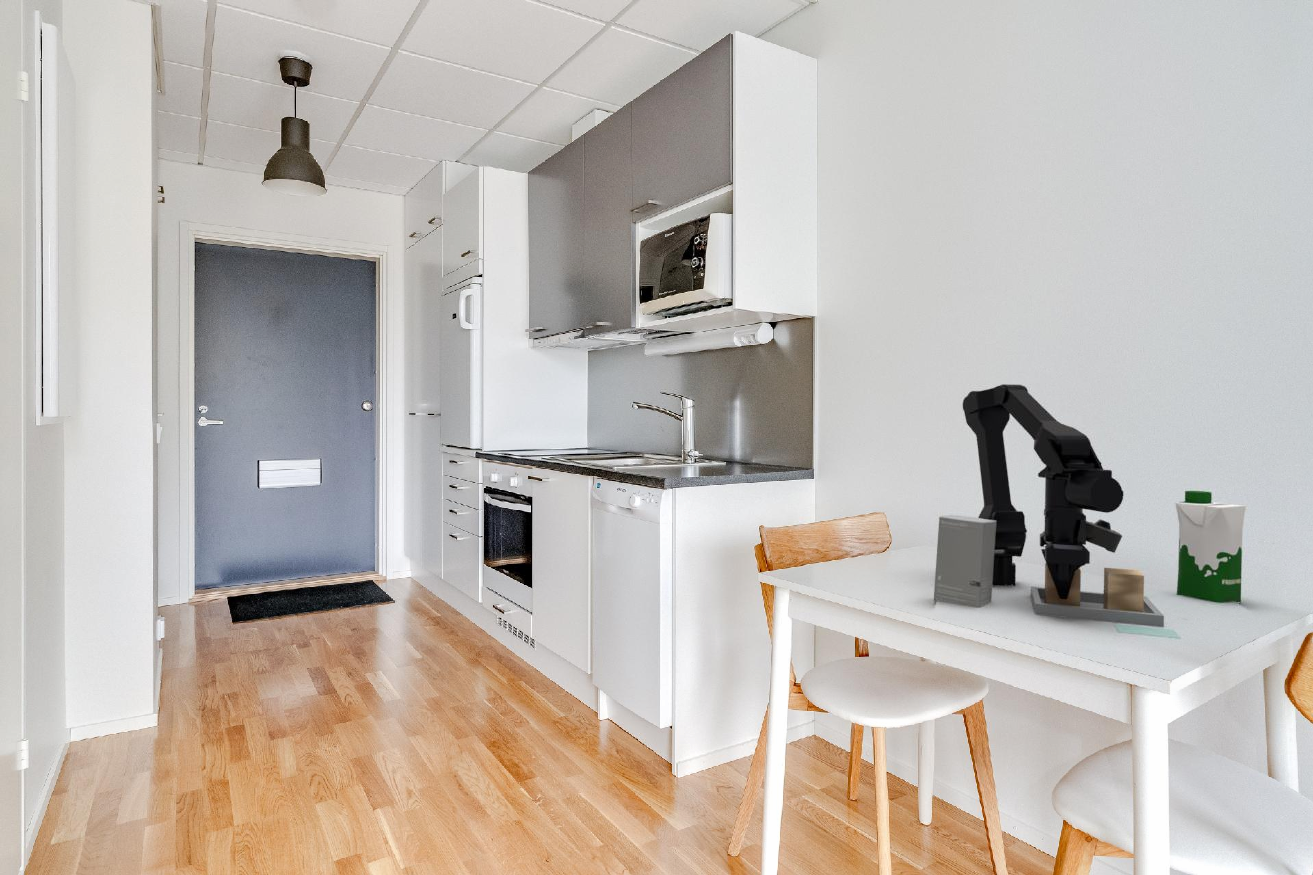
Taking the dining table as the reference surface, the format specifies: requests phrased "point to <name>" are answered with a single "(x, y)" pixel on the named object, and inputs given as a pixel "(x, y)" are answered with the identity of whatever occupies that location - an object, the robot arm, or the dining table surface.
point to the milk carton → (1209, 548)
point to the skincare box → (965, 560)
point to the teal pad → (1146, 631)
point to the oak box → (1123, 589)
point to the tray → (1096, 609)
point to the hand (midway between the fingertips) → (1062, 595)
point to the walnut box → (1052, 593)
